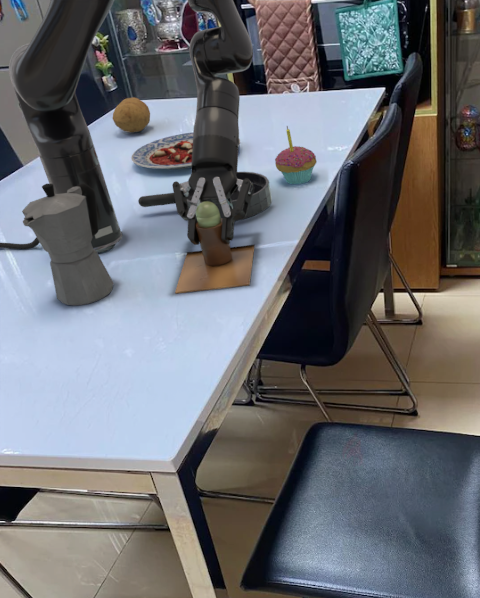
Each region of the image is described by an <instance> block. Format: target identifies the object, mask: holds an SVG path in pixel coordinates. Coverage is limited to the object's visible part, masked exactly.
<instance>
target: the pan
mask: <svg viewBox="0 0 480 598" xmlns="http://www.w3.org/2000/svg"><path fill="white" fill-rule="evenodd" d="M237 178H238V179H241V180H244V179H245V178H248V179H249V180H250V181H251V183H252V184H253V186H254V191H253V195H252V198H251V201H250V205H249V208H248V211H247V214H246V217H245V218H244V219H241V218H239V219H237V220H236V221H235V222H237V221H242V220H245V219H248V218H252V217H254V216H256V215H259V214H260V213H263V212H264V211H265V210H267V209H268V208H269V207H270V205H271V204H272V202H273V201H272V200H273V198H272V191H271V186H270V180H269V178H268V177H267V176H265V175H263V174H261V173H258V172H253V171H237ZM193 195H194V192H193V190H192V189H190V190H189V194H188V197H186V198H187V203H188V208H189V209H190V206H191V200H192V197H193ZM238 195H239V190H238V187H237V188H236V190H235V191H234V192H233V194H232V195H231V196H230V198H231V202H232V205H233V209H235V205H236V202H237V199H238ZM200 202H201V201H200ZM215 205H216V206H217V207H218V209H219V213H220V217H221V218H224V213H223V210H222V207H221V205H219V204H215Z"/></svg>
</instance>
